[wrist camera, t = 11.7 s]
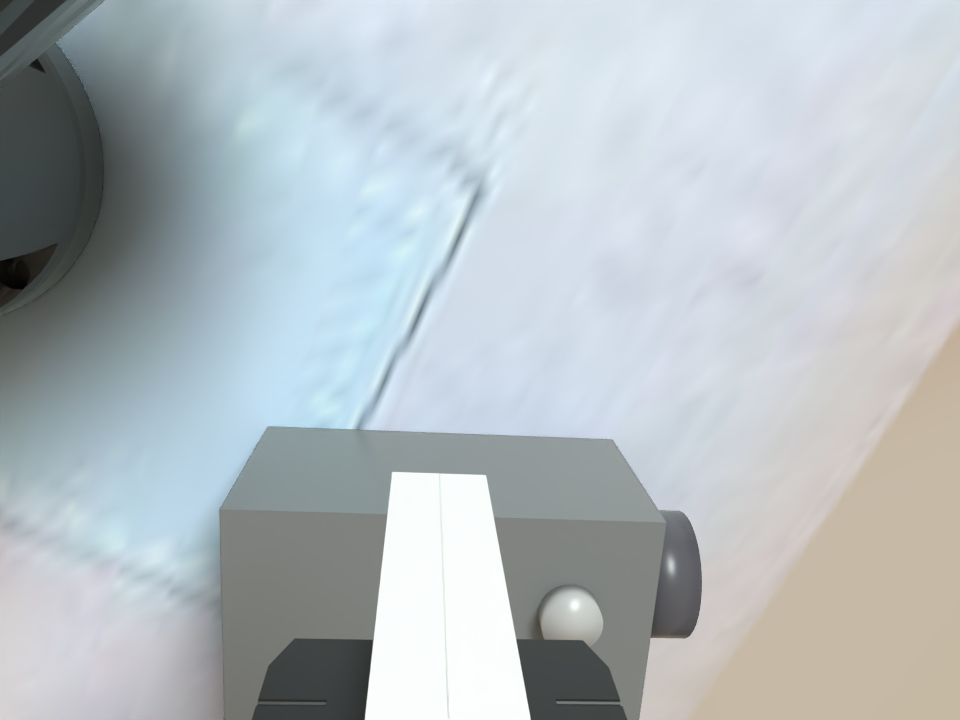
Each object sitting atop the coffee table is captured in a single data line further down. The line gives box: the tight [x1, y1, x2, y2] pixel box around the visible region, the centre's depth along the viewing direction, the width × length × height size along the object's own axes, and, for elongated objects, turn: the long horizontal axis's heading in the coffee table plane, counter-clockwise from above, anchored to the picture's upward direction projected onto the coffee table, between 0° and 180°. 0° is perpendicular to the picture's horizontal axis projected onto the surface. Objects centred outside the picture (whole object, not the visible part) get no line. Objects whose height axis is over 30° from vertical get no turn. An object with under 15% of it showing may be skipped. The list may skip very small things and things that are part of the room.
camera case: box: [220, 426, 702, 720], centre depth 35 cm, size 19×12×10 cm, turn 86°
